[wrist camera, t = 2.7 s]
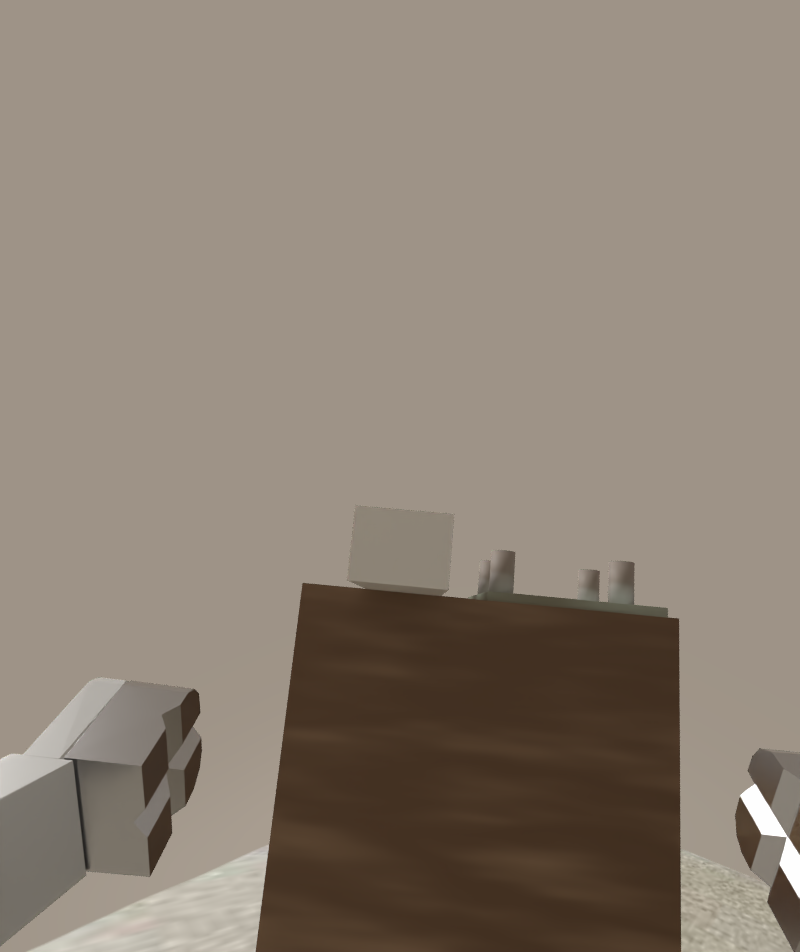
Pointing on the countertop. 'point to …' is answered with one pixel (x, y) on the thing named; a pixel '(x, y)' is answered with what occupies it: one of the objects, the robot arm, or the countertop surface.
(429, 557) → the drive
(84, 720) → the robot arm
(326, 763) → the wooden peg block
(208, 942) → the countertop surface
